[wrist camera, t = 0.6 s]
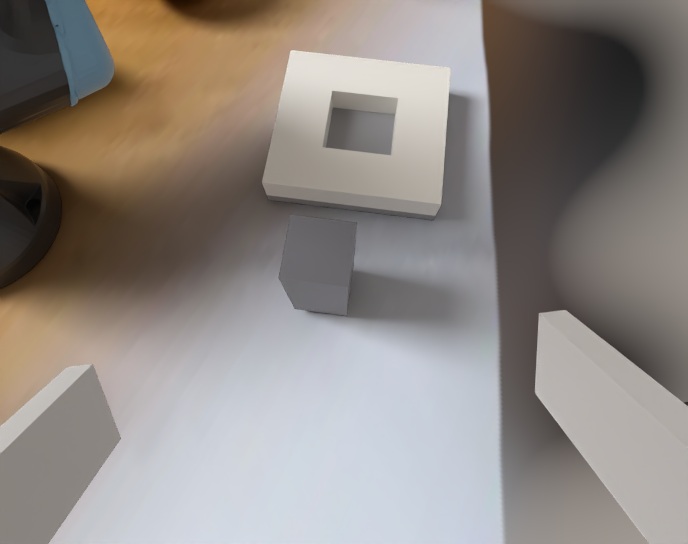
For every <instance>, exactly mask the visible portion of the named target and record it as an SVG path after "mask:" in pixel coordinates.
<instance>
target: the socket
mask: <svg viewBox="0 0 688 544" xmlns="http://www.w3.org/2000/svg"><path fill="white" fill-rule="evenodd" d="M450 71H451V68H448V67H439V66H430V65H421V64H412V63H403V62H393V61H384V60H375V59H366V58H357V57H348V56H339V55H330V54H321V53H312V52H303V51H294V50H291V52H290V57H289V61H288V66H287V70H286V75H285V79H284V84H283V89H282V93H281V98H280V102H279V107H278V111H277V116H276V120H275V125H274V129H273V134H272V139H271V143H270V148H269V152H268V157H267V161H266V166H265V170H264V175H263V179H262V184H263V187H264V189H265V192H266V195H267V198H268V200H274V201H283V202H291V203H299V204H307V205H315V206H323V207H331V208H339V209H347V210H355V211H363V212H371V213H379V214H387V215H396V216H404V217H412V218H420V219H428V220H434V218H435V216H436V214H437V212H438V210H439V208H440V206H441V202H442V187H443V173H444V158H445V144H446V129H447V114H448V100H449V85H450Z"/></svg>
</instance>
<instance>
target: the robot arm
mask: <svg viewBox="0 0 688 544" xmlns="http://www.w3.org/2000/svg"><path fill="white" fill-rule="evenodd" d="M114 71H115V67H114V61H113V58H112V56H111V53H110V51H109V49H108V47H107V45H106V43H105V41H104V38H103V36H102V34H101V32H100V30H99V28H98V26H97V24H96V22H95V20H94V18H93V16H92V14H91V12H90V10H89V8H88V6H87V4H86V2H85V0H0V134H2V133H4V132H7V131H9V130H12V129H14V128H16V127H19V126H21V125H24V124H26V123H28V122H31V121H33V120H36V119H38V118H40V117H43V116H45V115H48V114H50V113H53V112H55V111H57V110H60V109H62V108H65V107H67V106H71V107H72V106H75V104H77V103H78V100H79V99H81V98H83V97H86V96H88V95H90V94H92V93H94V92H96V91H98V90H100V89H102V88H104V87H106V86H107V85H108V84H109V83H110V82H111V80H112V77H113V75H114ZM61 213H62V205H61V198H60V194H59V191H58V188H57V186H56V184H55V183H54V181H53V180H52V178H51V177H50V176H49V175H48V174H47V173H46V172H45V171H44V170H43V169H41V168H40V167H39V166H37V165H36V164H35V163H33V162H32V161H31V160H29V159H28V158H27V157H25V156H23V155H21V154H19V153H18V152H15V151H13V150H11V149H8V148H5V147H2V146H0V288H2V287H4V286H6V285H8V284H10V283H12V282H14V281H16V280H17V279H19V278H20V277H22V276H23V275H24V274H26V273H27V272H28V271H29V270H30V269H32V268H33V267H34V266H35V265H36V264H37V263H38V262H39V261H40V260H41V258H42V257H43V256H44V255H45V253H46V252H47V251H48V249H49V248H50V246H51V244H52V242H53V241H54V239H55V236H56V234H57V231H58V229H59V225H60V221H61ZM538 323H539V324H538V343H537V362H536V363H537V364H536V381H535V394H536V395H537V396H538V398H539V399H540V400H541V402H542V403H543V404H544V405H545V407H546V408H547V409H548V411H549V412H550V413H551V415H552V416H553V417H554V419H555V420H556V421H557V423H558V424H559V425H560V427H561V428H562V429H563V430H564V432H565V433H566V435H567V436H568V437H569V439H570V440H571V441H572V443H573V444H574V445H575V447H576V448H577V449H578V451H579V452H580V453H581V454H582V456H583V457H584V459H585V460H586V461H587V462H588V464H589V465H590V466H591V468H592V469H593V470H594V472H595V473H596V474H597V476H598V477H599V478H600V479H601V481H602V482H603V483H604V485H605V486H606V487H607V489H608V490H609V492H610V493H611V494H612V496H613V497H614V498H615V499H616V501H617V502H618V504H619V505H620V506H621V507H622V509H623V510H624V511H625V513H626V514H627V515H628V517H629V518H630V519H631V521H632V522H633V523H634V525H635V526H636V527H637V529H638V530H639V531H640V533H641V534H642V535H643V537H644V538H645V539H646V541H647V542H648V543H649V544H688V402H684V403H683V402H682V401H680V400H679V399H678V398H677V397H675V396H674V395H673V394H672V393H670V392H669V391H668V390H667V389H665V388H664V387H662V386H661V385H660V384H658V382H656V381H655V380H654V379H653V378H651V377H650V376H649V375H647V374H646V373H645V372H644V371H642V370H641V369H640V368H639V367H637V366H636V365H635V364H633V363H632V362H631V361H630V360H628V359H627V358H626V357H625V356H623V355H622V354H621V353H620V352H618V351H617V350H616V349H614V348H613V347H612V346H611V345H609V344H608V343H607V342H605V341H604V340H603V339H602V338H600V337H599V336H598V335H597V334H595V333H594V332H593V331H592V330H590V329H589V328H588V327H587V326H585V325H584V324H583V323H581V322H580V321H579V320H578V319H576V318H575V317H574V316H572V315H571V314H570V313H569V312H567V311H566V310H562V311H554V312H545V313H539V322H538ZM120 439H121V437H120V434H119V432H118V429H117V427H116V424H115V421H114V419H113V416H112V413H111V411H110V408H109V405H108V403H107V400H106V398H105V395H104V392H103V390H102V387H101V384H100V382H99V379H98V376H97V374H96V371H95V369H94V366H93V364H88V365H79V366H70V367H67V368H65V369H64V370H63V371H62V372H61V373H60V374H59V375H58V376H56V377H55V378H54V379H53V380H52V381H51V382H50V383H49V384H47V385H46V386H45V387H44V388H43V389H42V390H41V391H40V392H38V393H37V394H36V395H35V396H34V397H33V398H32V399H31V400H29V401H28V402H27V403H26V404H25V405H24V406H23V407H22V408H20V409H19V410H18V411H17V412H16V413H15V414H14V415H13V416H11V417H10V418H9V419H8V420H7V421H6V422H5V423H4V424H3V425H1V426H0V544H48V543H49V542H50V540H51V539H52V537H53V536H54V535H55V533H56V532H57V530H58V529H59V527H60V526H61V524H62V523H63V522H64V520H65V519H66V517H67V516H68V514H69V513H70V511H71V510H72V509H73V507H74V506H75V504H76V503H77V501H78V500H79V498H80V497H81V496H82V494H83V493H84V491H85V490H86V488H87V487H88V485H89V484H90V482H91V481H92V480H93V478H94V477H95V475H96V474H97V472H98V471H99V469H100V468H101V467H102V465H103V464H104V462H105V461H106V459H107V458H108V456H109V455H110V454H111V452H112V451H113V449H114V448H115V446H116V445H117V443H118V442H119V441H120Z"/></svg>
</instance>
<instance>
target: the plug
mask: <svg viewBox="0 0 688 544" xmlns="http://www.w3.org/2000/svg"><path fill="white" fill-rule="evenodd" d="M356 229H357V223H356V222H348V221H340V220H332V219H324V218H316V217H308V216H299V215H291V216H290V221H289V226H288V231H287V237H286V242H285V247H284V252H283V258H282V263H281V268H280V273H279V280H280V281H281V283H282V285H283V287H284V289H285V291H286V293H287V295H288V297H289V299H290V300H291V302H292V304H293V306H294V308H295V309H300V310H307V311H315V312H322V313H330V314H337V315H345V316H347V310H348V302H349V295H350V287H351V280H352V273H353V264H354V253H355V241H356Z"/></svg>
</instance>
